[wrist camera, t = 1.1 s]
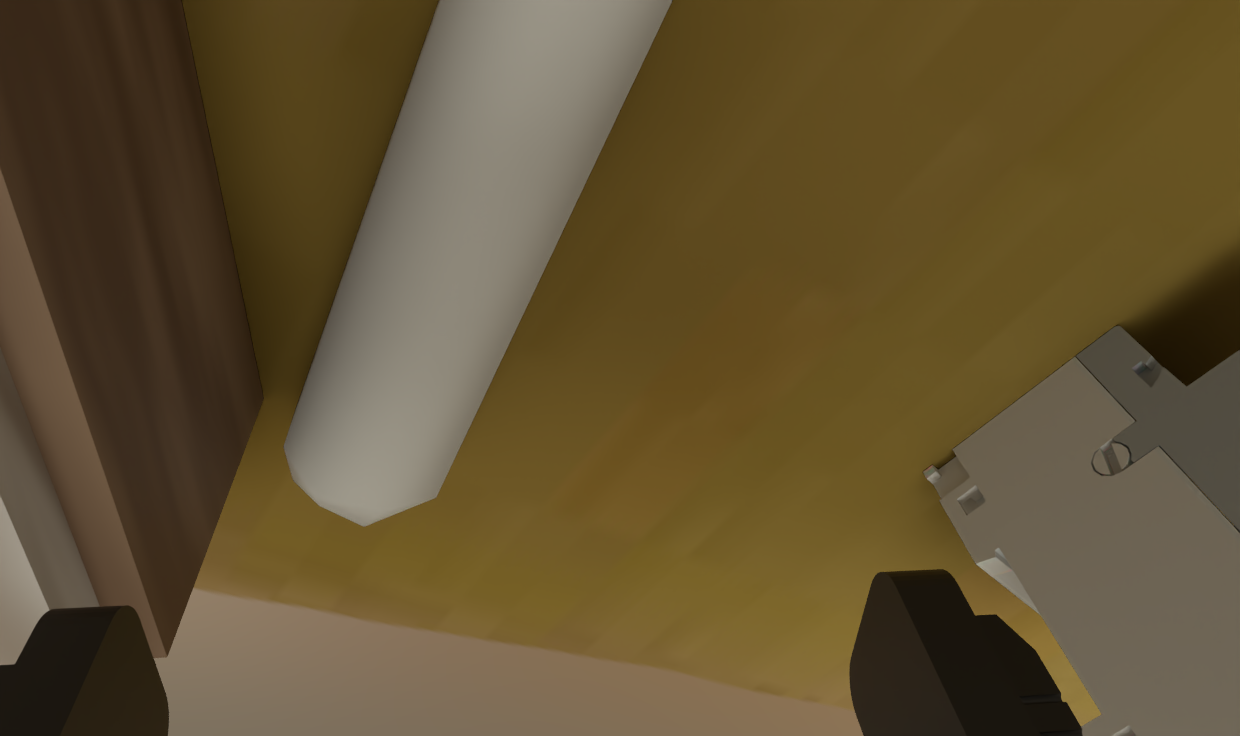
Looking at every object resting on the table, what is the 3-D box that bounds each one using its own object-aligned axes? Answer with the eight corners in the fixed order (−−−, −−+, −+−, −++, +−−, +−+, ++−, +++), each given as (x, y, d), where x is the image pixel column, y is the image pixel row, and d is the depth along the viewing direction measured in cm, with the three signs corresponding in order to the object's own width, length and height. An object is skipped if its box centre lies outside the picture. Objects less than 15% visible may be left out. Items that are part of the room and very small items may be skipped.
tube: (449, 558, 29) (920, -371, 17) (271, 559, 26) (691, -571, 14) (410, 440, 32) (775, -391, 20) (250, 428, 29) (568, -554, 17)
